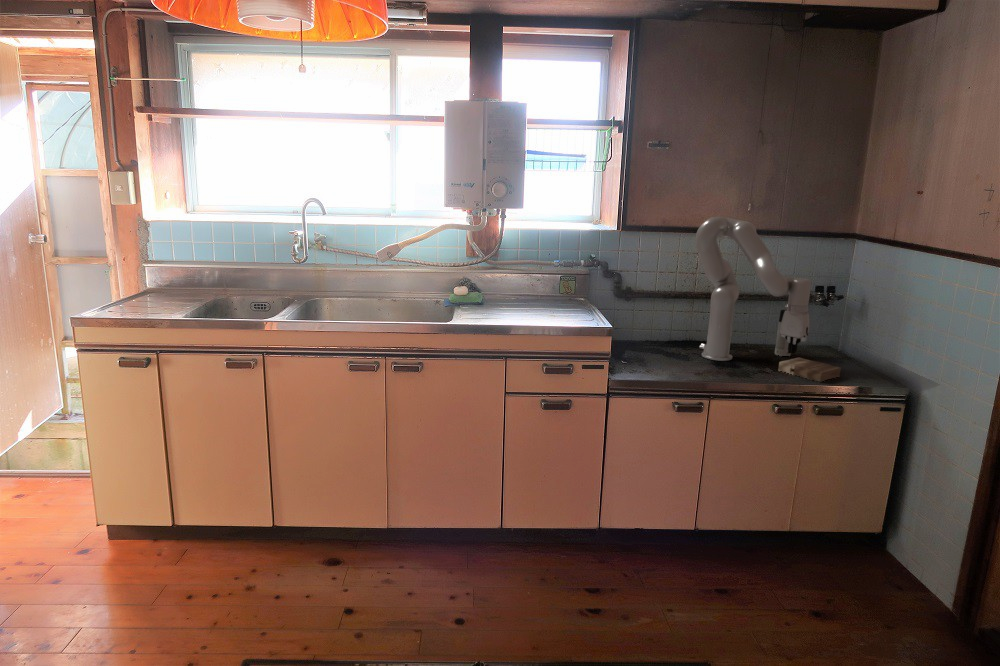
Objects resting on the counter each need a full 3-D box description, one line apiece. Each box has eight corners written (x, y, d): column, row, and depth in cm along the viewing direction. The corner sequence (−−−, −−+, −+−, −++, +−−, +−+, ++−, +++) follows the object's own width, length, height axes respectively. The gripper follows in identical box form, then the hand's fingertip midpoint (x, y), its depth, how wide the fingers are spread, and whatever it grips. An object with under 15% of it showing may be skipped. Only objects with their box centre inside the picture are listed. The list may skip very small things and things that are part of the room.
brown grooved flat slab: (790, 374, 260) (792, 364, 259) (810, 369, 267) (811, 359, 266) (819, 382, 250) (821, 372, 249) (839, 377, 258) (840, 367, 257)
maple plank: (778, 371, 264) (779, 361, 263) (797, 366, 272) (799, 357, 271) (792, 375, 259) (794, 366, 258) (812, 370, 266) (813, 361, 265)
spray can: (792, 357, 284) (798, 313, 279) (775, 356, 285) (782, 311, 281) (788, 353, 290) (795, 309, 286) (772, 352, 292) (778, 308, 287)
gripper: (775, 306, 265) (769, 350, 270) (810, 313, 254) (803, 358, 258) (785, 304, 270) (780, 347, 274) (820, 311, 258) (814, 355, 262)
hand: (791, 352), depth 266 cm, fingers closed
